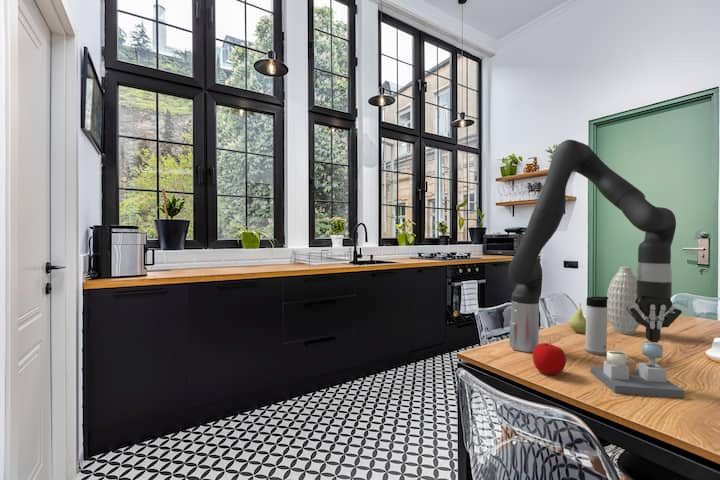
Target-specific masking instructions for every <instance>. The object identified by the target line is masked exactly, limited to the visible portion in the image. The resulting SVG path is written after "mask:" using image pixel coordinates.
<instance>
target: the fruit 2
mask: <svg viewBox="0 0 720 480" xmlns="http://www.w3.org/2000/svg"><path fill="white" fill-rule="evenodd" d="M569 327H570V328H571V330H573V331H574V332H575V333H577V334H583V333H586V317H585V316H584V312H583V309H582V304H581V303H579V308H578V309H577V310H576V312H575V314H574V315H573V316H572V317H571V319H570V320H569Z"/></svg>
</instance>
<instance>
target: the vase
mask: <svg viewBox="0 0 720 480" xmlns="http://www.w3.org/2000/svg"><path fill="white" fill-rule="evenodd" d="M606 297H608V299H607V318H608V321H609V322H610V325H611V326H612V328H613V331H614V332H615V333H618V334H621V335H633V334H634V333H635V332H636V331H637V330H638V327H639V326H640V324H638V323H637V321H636V320H635V319H634V318H633V317H632V315H631V314H630V313H629V312H628V311H627V309H626V307H628V306H629V307H631V306H632V305H634V304H635V300H636V299H637V277H636V276H635V274H634V272H633V271H632V268H631V267H629V266H619V268H618V271H617V272H616V274H615V275H614V276H613V277H612V279H611V281H610V282H609V285H608V288H607V291H606ZM639 314H640V315H641V316H642V317H643V313H642V312H641V310H640V309H639Z"/></svg>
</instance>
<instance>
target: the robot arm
mask: <svg viewBox="0 0 720 480" xmlns="http://www.w3.org/2000/svg"><path fill="white" fill-rule="evenodd" d="M573 172H575V173H577V174H579V175H581V176H583V177H584V178H587V179H588V180H589V182H591V183H592V184H594V186H595V187H596V188H597V191H599V192H600V194H601V195H602V196H603V197H604V198H605V199H606V200H607V201H609V202H610V203H611V204H612V205H613V206H614V207H616V208H617V209H618V210H620V211H621V212H622V214H623V215H624V216H625V218H626V219H627V220H628V221H629V222H630V223H631V224H632V225H633V227H635V228H637V230H640V231H641V232H644V233H645V234H644V240H643V241H642V242H640V243H639V245H638V250H637V267H636V276H635V277H636V278H637V299H636V300H635V304H634V305H632V306H631V307H629V306H628V307H626V309H627V311H628V312H629V313H630V314H631V315H632V317H633V318H634V319H635V320H636V321H637V323H638V324H639V326H643V327H645V339H646V340H647V341H649V342H650V343H656V344H659V341H660V340H661V330H662V329H663V328H669V327H670V326H671V325H672V324H673V323H674V322H675V321H676V319H677V318H678V317H679V316H680V315H681V314H682V313H683V311H682V310H681V309H679V308H677V307H675V306H674V305H673V302H672V299H671V298H672V290H673V289H672V288H673V287H672V285H673V283H672V282H673V281H672V280H673V273H672V272H673V271H672V265H671V263H672V261H671V260H672V257H671V255H672V249H671V247H672V244H673V241H674V236H675V233H676V229H677V219H676V215H675V214H674V212H673V211H672V210H671V209H670V208H666V207H660V206H655V205H653V204H652V203H651V202H649V201H648V200H647V199H646V195H645V193H643V191H641V190H640V189H638V188H637V187H636V186H634V185H633V184H631V182H629V181H628V180H626V179H625V178H624V177H622V176H621V175H620V174H618V173H617V172H616V171H614V170H612V168H610V166H608V165H607V164H606V163H605V162H604V161H602V159H601V158H600V157H599V156H598V155H597V154H596V153H595V152H594V150H593V149H592V148H591V147H590V146H589V145H588V144H586V143H584V142H581V141H577V140H574V139H566V140H564V141H562V142H561V143H560V144H558V145H557V147H555V149H554V152H553V155H552V158H551V161H550V165H549V167H548V172H547V174H546V178H545V181H544V183H543V186H542V189H541V192H540V194H539V196H538V199H537V201H536V204H535V206H534V208H533V210H532V213H531V216H530V219H529V222H528V224H527V226H526V228H525V231H524V234H523V237H522V239H521V242H520V244H519V246H518V248H517V250H516V252H515V254H514V255H513V257H512V259H511V261H510V263H509V266H508V271H507V272H508V273H507V274H508V277H509V279H510V280H511V281H512V283H513V282H514V283H515V284H516V285H515V289H514V291H513V292H512V293H511V309H510V311H511V313H510V315H511V317H510V318H511V319H510V320H509V346H510V348H511V349H512V350H513V351H520V352H525V353H533V351H534V349H535V347H536V346H537V345H539V344H540V343H539V342H540V341H539V339H540V335H539V333H540V329H539V328H540V325H539V324H540V297H541V296H542V291H543V289H542V288H543V268H542V264H541V263H540V262H539V261H538V258H539V255H540V253H541V251H542V250H543V248H544V246H545V245H546V244H547V243H548V242H549V241H550V240H551V238H552V237H553V236H554V235H555V233H556V232H557V230H558V229H559V225H560V223H561V221H562V219H563V217H564V214H565V212H566V200H567V199H566V197H567V196H566V195H567V194H566V190H567V185H568V182H569V179H570V177H571V175H572V173H573ZM639 309H640V310H641V312H642V313H643V315H642V316H641V315H640V314H639Z"/></svg>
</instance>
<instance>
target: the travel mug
mask: <svg viewBox="0 0 720 480" xmlns="http://www.w3.org/2000/svg"><path fill="white" fill-rule="evenodd" d="M607 299H608V297H607V295H606V296H605V295H604V296H589V297H586V305H585V306H586V307H585V320H586V331H585V352H586V353H587V354H590V355H595V356H607V351H608V350H607V347H608V346H607V344H608V338H607V337H608V314H607Z"/></svg>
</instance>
